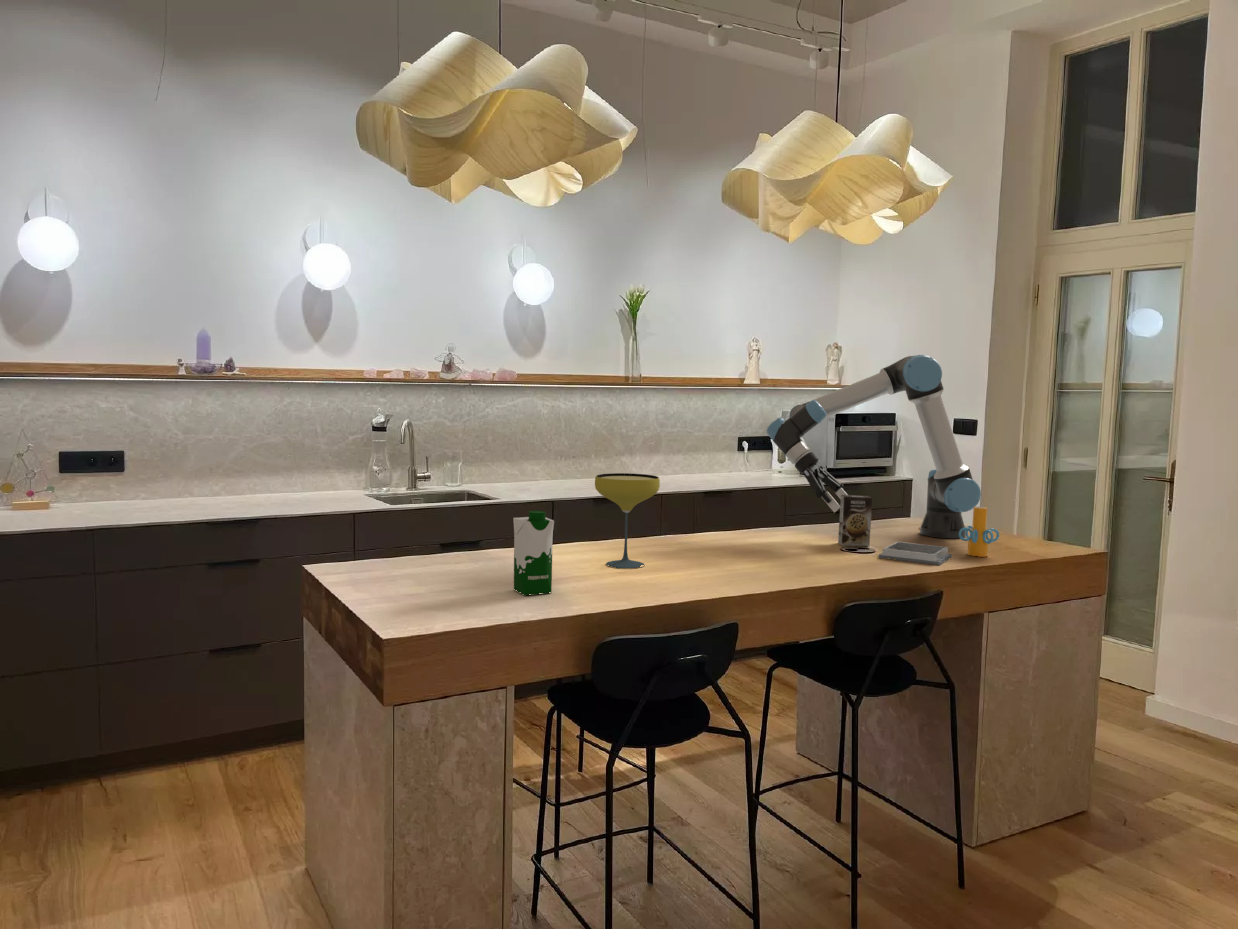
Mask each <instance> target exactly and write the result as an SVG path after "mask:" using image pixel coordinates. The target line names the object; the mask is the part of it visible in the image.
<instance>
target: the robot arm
mask: <svg viewBox="0 0 1238 929" xmlns="http://www.w3.org/2000/svg"><path fill="white" fill-rule="evenodd" d="M942 378H943V370H942V367H941V365H940V363H939V362H938V361H937V360H936V359H935V358H934V357H931V356H929V355H927V354H917V355H909V356H905V357H903V358H900V359H899V360H897V361H895V362H894V363H891V364H890V365H887V366H886V367H883V368H881V369H880V371H879V372H878V373H876V374H873V375H871V376H869V377H866V378H864V379H862V380H859V381H856V382H854V383H851V384H849V385H847V386H844V387H841V388H839V389H837V390H834V391H832V392H830V393H826V394H824V395H821V396H818V397H817V398H814V399H811V400H810V401H806V402H805V403H802V404H797V405H794V406H793V407H792V408H791V409H790V411H789V417H788V418H787V419H784V418H783V417H778V418H777V419H775V420H774V421H772V422H771V423H770V424H769V425H768V427H767V429H766V434H767V435H768V437H769V438H770V439H771V441H772V442H773V443H774V444H775V445H776V446H777V447H778V449H779V450H780V451H781V452H782V454H784V456H785V457H786V458H787V459H786V460H787V461H788V462H790V463H791V464H792V465H794V468H796V470H797V472H799V474H801V475H803V477H804V478H806V480H807V482H808V484H809V486H810V488H811V489H812V491H813V493H814V495H816V497H817V498H818V499H820V498H821V499H822V500H823V501H824V502H825V503H826V504H827V506H828V507H829V508H830V509H831V511H832V512H833V513H836V512H837V511H838V510H840V507H841V506H840V504H839V503H838V502H837V500H836V499H835V498H834V497H833V496H832V495H831V493H830V492H829V491H827V490H826V488H825V486H824V485H826V486H827V487H829V488H830V489H831V491H834V494H835V495H836V496H837V497H838V498H839V500H841V495H849V494H848V493H847V492H846V491H845V490H844V488H843V487H844V484H843V483H841V482H840V481H838V479H836V478H835V477H834V476H833V475H832V474H831V473H829V472H828V471H827V470H826V469H825V467H824V466H822V465H820V466H818V465H817V464H818V462H819V458H818V457H817V456H816V454H815V453H814V452H813V451H811V449H810V447H809V446H808V445H807V444H806V442H805V441H803V440H802V439H801V438H802V437H804V435H806V434H807V433H808V432H810V431H811V430H812V429H813V428H815V427H816V426H817V425H818V424H821V423H822V421H823V420H824V419H826V418H829V417H832V416H834V415H837V414H840V413H841V412H844V411H846V410H849V409H851V408H855V407H856V406H859V405H862V404H864V403H866V402H869V401H872V400H874V399H877V398H879V397H881V396H884V395H887V394H889V395H895V394H896V393H901V392H905V394H906V396H907V400H908V401H909V402H911V403H913V404H914V405H915V409H916V412H917V415H918V418H919V421H920V424H921V427H922V430H923V434H924V438H925V439H926V442H927V445H928V449H929V451H930V455H931V458H932V462H933V463H934V467H935V469H931V470H929V471H928V475H927V476H928V477H927V494H926V495H927V496H926V510H925V512H926V513H925V515H924V517H923V519H922V522H921V524H920V527H919V534H920V535H922V536H925V537H933V538H939V539H960V537H959V531H960V530H961V529H962V528H965V524H964V523H965V522H964V519H963V515H962V513H965V512H969V511H971V510H973V509H974V507H977V505H978V504H979V502H980V499H981V496H982V493H981V492H982V491H981V488H980V486H979V484H978V483H977V481H976V480H974V478H973V477H972V472H971V470H970V467H969V466H968V465H966V464H964V463H963V460H962V458H961V454H960V451H959V448H958V446H957V442H956V438H955V436H954V432H953V430H952V426H951V423H950V420H949V417H948V414H947V411H946V408H945V404H944V402H943V399H942V394H943V393H944V386H943V382H942ZM961 535H962V537H963V538H966V534H965V530H964V531H962V533H961Z"/></svg>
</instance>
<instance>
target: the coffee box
mask: <svg viewBox="0 0 1238 929" xmlns="http://www.w3.org/2000/svg"><path fill="white" fill-rule="evenodd" d="M839 505H840V506H841V507H840V508H839V520H838V522H839V523H838V538H837V539H838V541H837V543H838V544H839V545H840V544H841V545H842V547H855V546H869V547H870V543H871V542H870V541H871V525H872V524H871V523H872V506H873V497H871V496H869V495H859V494H858V495H853V494H852V495H851V494H848V495H841V499H840V504H839ZM841 545H840V546H841Z"/></svg>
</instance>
